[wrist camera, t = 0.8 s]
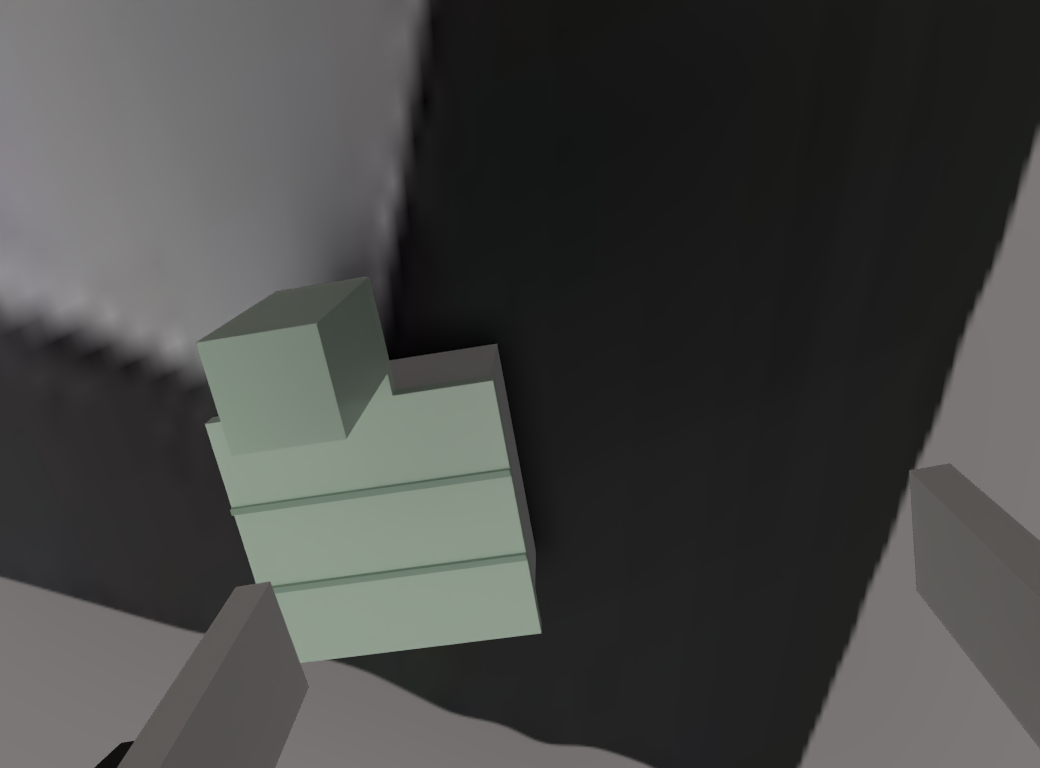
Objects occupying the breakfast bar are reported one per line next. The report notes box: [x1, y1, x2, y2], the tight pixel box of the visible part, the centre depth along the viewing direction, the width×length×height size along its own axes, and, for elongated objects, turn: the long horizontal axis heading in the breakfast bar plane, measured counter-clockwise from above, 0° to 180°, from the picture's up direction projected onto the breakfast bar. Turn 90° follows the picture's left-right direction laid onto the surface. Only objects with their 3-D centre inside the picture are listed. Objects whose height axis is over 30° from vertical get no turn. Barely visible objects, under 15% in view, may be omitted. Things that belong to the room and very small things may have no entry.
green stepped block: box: [196, 276, 541, 663], centre depth 31 cm, size 18×13×8 cm
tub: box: [389, 344, 536, 586], centre depth 38 cm, size 12×12×6 cm
